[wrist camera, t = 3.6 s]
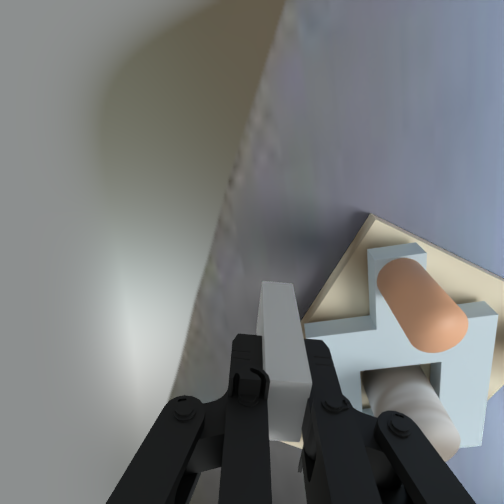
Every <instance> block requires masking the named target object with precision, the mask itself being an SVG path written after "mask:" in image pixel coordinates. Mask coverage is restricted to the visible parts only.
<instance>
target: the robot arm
mask: <svg viewBox="0 0 504 504" xmlns="http://www.w3.org/2000/svg"><path fill="white" fill-rule="evenodd" d="M301 434H302V437H303V448H302V453H301V457H300V462H299V467H298V472H301V471H302V467H303V474H304V482H305V491H306V499H307V504H476V503H475V502H474V500H473V499H472V498H471V496H470V495H469V494H468V492H467V491H466V490H465V488H464V487H463V486H462V484H461V483H460V482H459V480H458V479H457V478H456V476H455V475H454V474H453V472H452V471H451V470H450V468H449V467H448V465H447V464H446V463H445V461H444V460H443V459H442V457H441V456H440V455H439V453H438V452H437V451H436V449H435V448H434V447H433V445H432V444H431V443H430V441H429V440H428V439H427V437H426V436H425V435H424V433H423V432H422V431H421V429H420V428H419V427H418V425H417V424H416V423H415V422H414V421H413V420H412V419H411V418H409V417H408V416H406V415H405V414H403V413H400V412H397V411H388V410H387V411H385V412H382V413H381V414H380V415H379V416H378V418H377V417H374V416H371V415H368V414H365V413H362V412H360V411H358V410H356V409H355V408H353V406H352V404H351V403H350V401H349V400H348V399H347V398H346V397H345V396H344V395H343V394H342V391H341V387H340V384H339V380H338V377H337V373H336V370H335V367H334V363H333V360H332V356H331V353H330V349H329V347H328V346H327V345H326V344H325V343H324V342H323V340H317V339H305V338H303V333H302V328H301V323H300V317H299V312H298V307H297V302H296V297H295V292H294V287H293V283H281V282H270V281H262V287H261V295H260V303H259V311H258V319H257V335H248V334H238V335H237V336H236V337H235V339H234V340H233V342H232V353H231V364H230V375H229V386H228V390H227V392H226V393H225V395H223V396H222V397H221V398H220V399H218V400H216V401H213V402H209V403H204V404H203V403H202V402H201V401H200V400H199V399H197V398H195V397H193V396H185V395H184V396H179V397H176V398H174V399H172V400H170V401H169V402H168V403H167V404H166V405H165V406H164V408H163V410H162V411H161V413H160V415H159V416H158V418H157V420H156V421H155V423H154V425H153V426H152V428H151V430H150V431H149V433H148V435H147V436H146V438H145V439H144V441H143V443H142V445H141V446H140V448H139V449H138V451H137V453H136V454H135V456H134V458H133V459H132V461H131V463H130V464H129V466H128V468H127V470H126V471H125V473H124V474H123V476H122V478H121V479H120V481H119V483H118V484H117V486H116V487H115V490H114V491H113V492H112V494H111V496H110V497H109V499H108V501H107V502H106V504H189V502H190V500H191V497H192V495H193V492H194V490H195V487H196V485H197V482H198V480H199V477H200V475H201V472H203V471H207V470H210V469H214V468H218V467H221V477H220V488H219V500H218V504H272V492H271V470H270V447H269V440H274V441H288V442H300V439H301Z"/></svg>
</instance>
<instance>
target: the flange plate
mask: <svg viewBox="0 0 504 504" xmlns="http://www.w3.org/2000/svg"><path fill="white" fill-rule="evenodd" d="M367 260H368V285H369V309H370V315H368V316H360V317H352V318H344V319H336V320H329V321H321V322H313V323H305V324H304V328H305V336H306V339H317V340H323V342H324V343H325V344H326V345H327V346H328V347H329V349H330V353H331V356H332V360H333V363H334V367H335V370H336V373H337V377H338V380H339V384H340V387H341V391H342V394H343V395H344V396H345V397H346V398H347V399H348V400H349V401H350V403H351V404H352V406H353V408H355V409H356V410H358V411H360V412H362V413H365V414H368V415H371V416H374V415H373V412H372V409H371V408H367V409H362V396H361V379H360V371H365V370H374V369H383V368H391V367H400V366H409V365H418V364H427V363H431V365H430V384H431V386H432V387H433V389H434V391H435V393H436V394H437V396H438V398H439V400H440V401H441V403H442V405H443V406H444V408H445V410H446V412H447V413H448V415H449V417H450V419H451V420H452V422H453V424H454V425H455V427H456V429H457V431H458V433H459V434H460V438H461V442H460V447H459V448H464V447H475V446H481V443H482V436H483V428H484V421H485V413H486V405H487V398H488V390H489V383H490V375H491V367H492V360H493V352H494V345H495V337H496V330H497V322H498V314H497V313H496V312H495V311H494V310H493V309H492V308H491V307H490V306H489V305H488V304H487V303H486V302H485V301H479V302H471V303H463V304H456V303H455V302H454V301H453V300H452V299H451V298H450V296H449V295H448V294H447V293H446V292H445V291H444V290H443V289H442V288H441V287H440V285H439V284H438V283H437V282H436V281H435V280H434V279H433V278H432V277H431V276H430V274H429V273H428V272H427V271H426V265H427V253H426V252H425V251H424V250H423V249H422V248H421V247H420V246H419V245H418V244H417V243H416V242H414V243H407V244H400V245H393V246H386V247H379V248H372V249H367Z"/></svg>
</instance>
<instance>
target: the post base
mask: <svg viewBox="0 0 504 504" xmlns="http://www.w3.org/2000/svg"><path fill="white" fill-rule="evenodd" d="M414 242H416V243H417V244H418V245H419V246H420V247H421V248H422V249H423V250H424V251H425V252H426V253H427V265H426V271H427V272H428V273H429V274H430V276H431V277H432V278H433V279H434V280H435V281H436V282H437V283H438V284H439V285H440V287H441V288H442V289H443V290H444V291H445V292H446V293H447V294H448V295H449V296H450V298H451V299H452V300H453V301H454V302H455V303H456V304H463V303H471V302H479V301H485V302H486V303H487V304H488V305H489V306H490V307H491V308H492V309H493V310H494V311H495V312H496V313H497V314H498V322H497V330H496V337H495V345H494V352H493V360H492V367H491V375H490V383H489V390H488V398H487V401H488V400H489V399H490V398H491V397H492V396H493V395H494V394H495V393H496V392H497V391H498V390H499V389H500V388H501V387H502V386H503V385H504V278H502V277H500V276H498V275H496V274H493V273H491V272H489V271H487V270H485V269H483V268H481V267H479V266H477V265H475V264H473V263H471V262H469V261H467V260H465V259H463V258H461V257H459V256H457V255H455V254H453V253H451V252H449V251H447V250H445V249H442V248H440V247H438V246H436V245H434V244H432V243H430V242H428V241H426V240H424V239H422V238H420V237H418V236H416V235H414V234H412V233H410V232H408V231H406V230H404V229H402V228H400V227H398V226H396V225H394V224H391V223H389V222H387V221H385V220H383V219H381V218H379V217H377V216H375V215H373V214H371V213H370V215H369V216H368V218H367V219H366V221H365V222H364V224H363V226H362V227H361V229H360V230H359V232H358V233H357V235H356V236H355V238H354V240H353V241H352V243H351V244H350V246H349V247H348V249H347V250H346V252H345V253H344V255H343V257H342V258H341V260H340V261H339V263H338V264H337V266H336V267H335V269H334V271H333V272H332V274H331V275H330V277H329V278H328V280H327V281H326V283H325V284H324V286H323V288H322V289H321V291H320V292H319V294H318V295H317V297H316V298H315V300H314V302H313V303H312V305H311V306H310V308H309V309H308V311H307V312H306V314H305V315H304V317H303V319H302V320H301V322H300V323H301V328H302V333H303V338H305V339H306V336H305V328H304V324H305V323H313V322H321V321H329V320H336V319H344V318H352V317H360V316H368V315H370V309H369V285H368V260H367V249H372V248H379V247H386V246H393V245H400V244H407V243H414ZM430 365H431V363H427V364H418V365H409V366H400V367H391V368H383V369H374V370H365V371H360V379H361V396H362V409H367V408H371V409H372V412H373V415H374V417H377V418H378V416H379V415H380V414H381V413H382V412H385V411H387V410H388V411H397V412H400V413H403V414H405V415H406V416H408V417H409V418H411V419H412V420H413V421H414V422H415V423H416V424H417V425H418V427H419V428H420V429H421V431H422V432H423V433H424V435H425V436H426V437H427V439H428V440H429V441H430V443H431V444H432V445H433V447H434V448H435V449H436V451H437V452H438V453H439V455H440V456H441V457H442V459H443V460H444V461H445V462H446V461H448V460H449V459H451V458H452V457H453V456H454V455H455V454H456V452H457V451H458V449H459V447H460V442H461V438H460V434H459V433H458V431H457V429H456V427H455V425H454V424H453V422H452V420H451V419H450V417H449V415H448V413H447V412H446V410H445V408H444V406H443V405H442V403H441V401H440V400H439V398H438V396H437V394H436V393H435V391H434V389H433V387H432V386H431V384H430ZM281 442H284V443H287V444H290V445H292V446H295V447H298V448H301V449H302V448H303V437H302V434H301V439H300V442H288V441H281Z"/></svg>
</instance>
